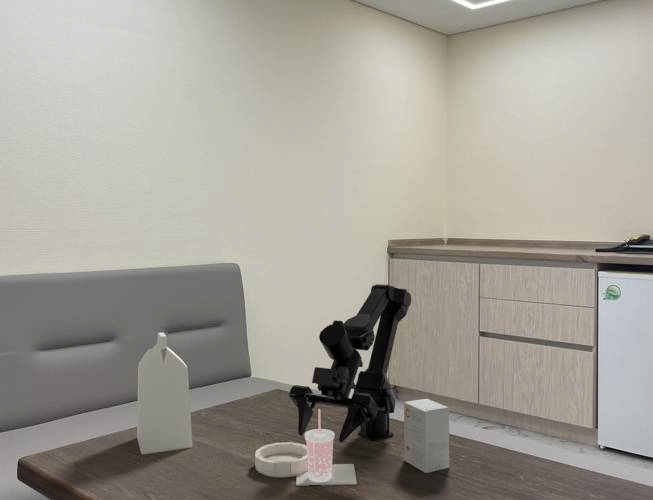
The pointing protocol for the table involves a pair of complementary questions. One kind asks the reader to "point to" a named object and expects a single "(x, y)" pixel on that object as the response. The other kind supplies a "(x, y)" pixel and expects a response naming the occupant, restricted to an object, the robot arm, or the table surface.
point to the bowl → (281, 459)
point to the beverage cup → (319, 452)
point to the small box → (426, 435)
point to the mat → (340, 476)
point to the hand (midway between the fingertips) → (319, 438)
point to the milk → (163, 400)
